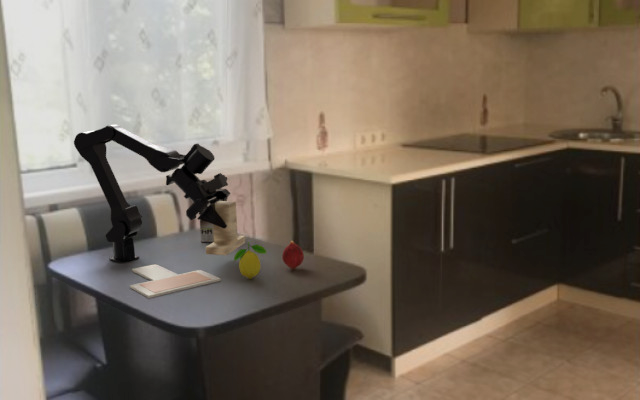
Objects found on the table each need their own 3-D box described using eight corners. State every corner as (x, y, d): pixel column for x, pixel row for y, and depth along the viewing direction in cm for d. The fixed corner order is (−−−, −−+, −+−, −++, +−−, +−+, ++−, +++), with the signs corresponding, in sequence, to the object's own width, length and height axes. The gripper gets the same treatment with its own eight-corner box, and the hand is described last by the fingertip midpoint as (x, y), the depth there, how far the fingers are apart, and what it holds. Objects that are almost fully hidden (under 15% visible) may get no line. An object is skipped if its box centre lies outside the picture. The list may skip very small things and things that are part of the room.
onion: (308, 268, 183) (307, 240, 182) (293, 273, 179) (292, 244, 177) (293, 265, 187) (292, 237, 186) (278, 269, 183) (277, 241, 181)
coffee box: (220, 241, 216) (217, 192, 213) (200, 242, 216) (197, 193, 213) (224, 235, 225) (222, 187, 222) (205, 235, 225) (202, 188, 222)
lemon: (267, 277, 176) (266, 240, 174) (254, 283, 171) (252, 245, 169) (247, 274, 180) (245, 238, 178) (233, 280, 175) (231, 243, 173)
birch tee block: (205, 254, 183) (203, 207, 180) (226, 241, 196) (224, 197, 194) (226, 255, 181) (224, 208, 179) (245, 242, 195) (243, 198, 192)
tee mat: (109, 275, 182) (108, 273, 181) (176, 261, 194) (176, 259, 194) (148, 298, 162) (148, 295, 162) (220, 280, 175) (220, 278, 174)
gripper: (194, 170, 176) (235, 212, 176) (222, 161, 194) (259, 199, 193) (168, 198, 180) (209, 240, 179) (198, 187, 198) (235, 225, 197)
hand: (229, 225), depth 187 cm, fingers closed on birch tee block, 5 cm apart
